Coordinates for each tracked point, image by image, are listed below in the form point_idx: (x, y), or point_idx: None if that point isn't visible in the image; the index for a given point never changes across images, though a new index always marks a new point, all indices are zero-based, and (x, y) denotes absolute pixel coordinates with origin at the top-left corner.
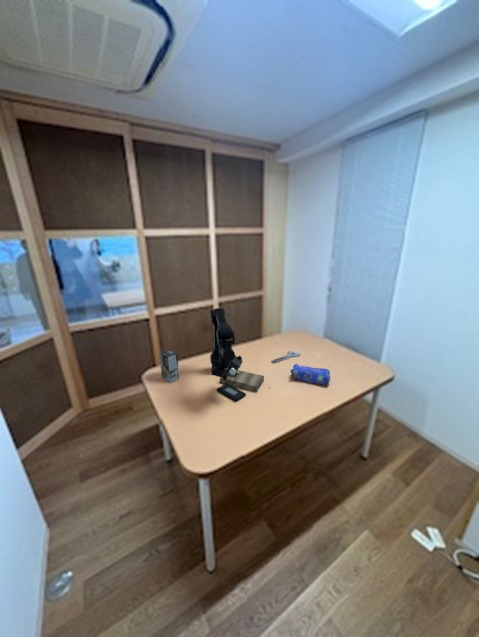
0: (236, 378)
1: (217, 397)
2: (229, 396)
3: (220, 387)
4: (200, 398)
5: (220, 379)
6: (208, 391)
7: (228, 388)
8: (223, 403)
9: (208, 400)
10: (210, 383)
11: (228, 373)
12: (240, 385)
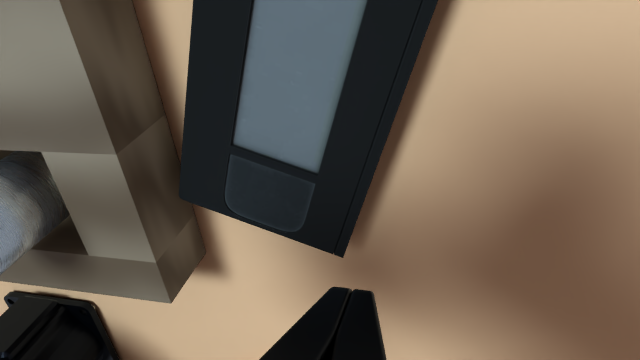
0: (37, 125)
1: (471, 184)
2: (423, 38)
3: (300, 229)
4: (562, 333)
5: (182, 283)
6: (401, 304)
7: (258, 135)
8: (588, 54)
9: (575, 254)
10: (267, 325)
11: (40, 251)
12: (101, 6)
